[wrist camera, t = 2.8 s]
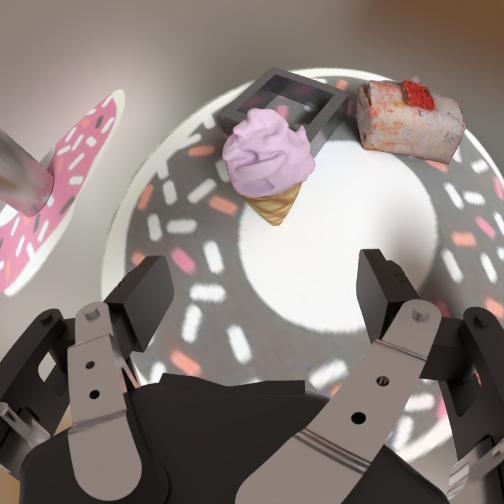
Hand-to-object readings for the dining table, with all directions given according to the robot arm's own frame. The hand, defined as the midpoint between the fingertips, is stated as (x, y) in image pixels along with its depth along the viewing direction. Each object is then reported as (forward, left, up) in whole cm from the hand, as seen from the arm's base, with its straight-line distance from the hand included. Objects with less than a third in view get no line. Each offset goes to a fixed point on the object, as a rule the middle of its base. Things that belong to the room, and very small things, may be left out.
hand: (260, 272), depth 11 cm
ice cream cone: (-6, +8, -17) cm, 20 cm away
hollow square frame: (-13, +21, -17) cm, 30 cm away
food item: (+2, +28, -17) cm, 33 cm away
